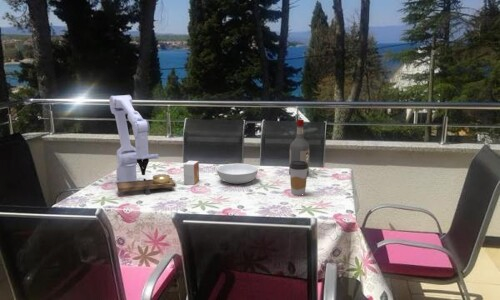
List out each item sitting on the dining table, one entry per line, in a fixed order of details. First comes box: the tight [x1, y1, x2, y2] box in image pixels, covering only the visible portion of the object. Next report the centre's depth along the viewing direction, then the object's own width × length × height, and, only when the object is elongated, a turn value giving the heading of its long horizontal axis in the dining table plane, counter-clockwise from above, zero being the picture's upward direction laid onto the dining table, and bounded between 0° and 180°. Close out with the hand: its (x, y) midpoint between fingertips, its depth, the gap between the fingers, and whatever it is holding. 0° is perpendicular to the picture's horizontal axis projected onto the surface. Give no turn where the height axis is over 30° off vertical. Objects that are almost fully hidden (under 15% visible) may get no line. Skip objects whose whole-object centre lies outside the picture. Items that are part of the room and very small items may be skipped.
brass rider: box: [152, 173, 171, 185], centre depth 206 cm, size 8×8×3 cm
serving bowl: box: [216, 162, 259, 185], centre depth 220 cm, size 21×21×7 cm
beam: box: [116, 177, 176, 192], centre depth 204 cm, size 26×10×2 cm, turn 110°
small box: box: [183, 160, 200, 186], centre depth 217 cm, size 8×6×10 cm
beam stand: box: [143, 178, 151, 196], centre depth 204 cm, size 2×12×4 cm, turn 20°
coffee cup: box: [289, 161, 308, 196], centre depth 199 cm, size 8×8×15 cm
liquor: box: [288, 119, 310, 175], centre depth 229 cm, size 9×9×30 cm
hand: (143, 174), depth 203 cm, fingers closed
